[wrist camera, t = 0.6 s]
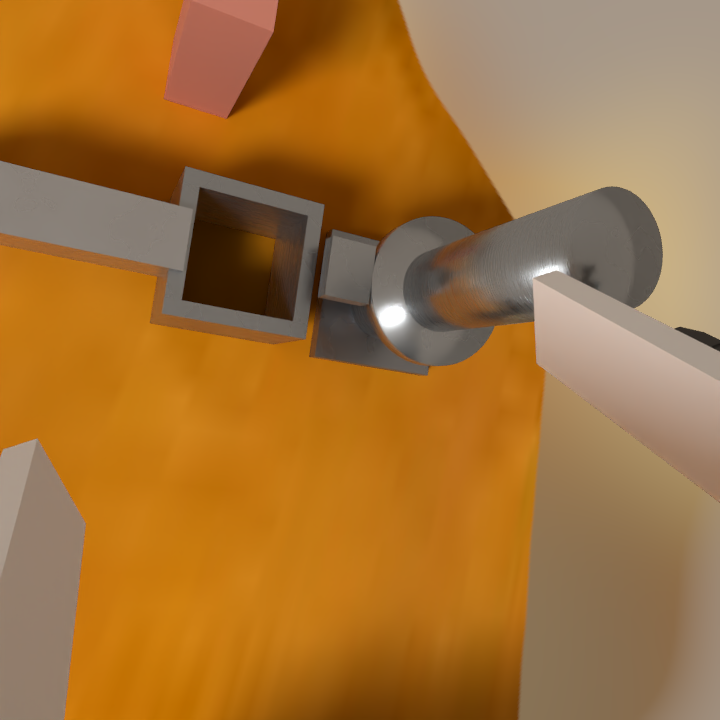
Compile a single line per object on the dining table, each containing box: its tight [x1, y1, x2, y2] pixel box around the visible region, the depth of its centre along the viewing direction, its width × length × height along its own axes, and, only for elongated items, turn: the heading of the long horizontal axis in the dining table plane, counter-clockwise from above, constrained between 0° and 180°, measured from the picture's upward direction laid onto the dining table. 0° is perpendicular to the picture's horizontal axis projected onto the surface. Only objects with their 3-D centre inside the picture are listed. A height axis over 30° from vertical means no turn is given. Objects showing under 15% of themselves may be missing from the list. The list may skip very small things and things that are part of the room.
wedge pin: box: [164, 0, 278, 119], centre depth 31 cm, size 4×4×10 cm
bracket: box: [0, 161, 324, 344], centre depth 30 cm, size 7×20×6 cm, turn 81°
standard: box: [309, 187, 663, 375], centre depth 30 cm, size 8×10×20 cm
